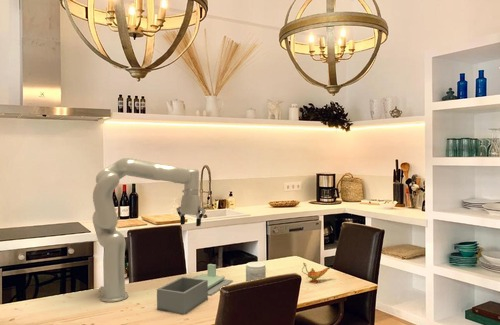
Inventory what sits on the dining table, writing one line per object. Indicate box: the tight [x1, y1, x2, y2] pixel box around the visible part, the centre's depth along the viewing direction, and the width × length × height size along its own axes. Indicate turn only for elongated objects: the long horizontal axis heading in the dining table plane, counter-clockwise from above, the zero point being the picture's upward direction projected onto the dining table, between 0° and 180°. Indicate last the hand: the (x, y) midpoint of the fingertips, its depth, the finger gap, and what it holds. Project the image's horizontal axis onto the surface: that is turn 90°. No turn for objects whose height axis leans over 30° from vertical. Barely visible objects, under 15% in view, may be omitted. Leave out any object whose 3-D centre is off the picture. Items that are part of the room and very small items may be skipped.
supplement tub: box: [245, 261, 267, 282], centre depth 201 cm, size 10×10×15 cm
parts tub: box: [156, 276, 209, 316], centre depth 188 cm, size 14×20×9 cm
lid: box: [194, 263, 226, 288], centre depth 216 cm, size 14×20×8 cm
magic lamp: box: [301, 262, 332, 284], centre depth 221 cm, size 7×18×11 cm, turn 112°
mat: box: [193, 275, 234, 296], centre depth 215 cm, size 22×24×1 cm
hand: (190, 225), depth 220 cm, fingers open, 9 cm apart
